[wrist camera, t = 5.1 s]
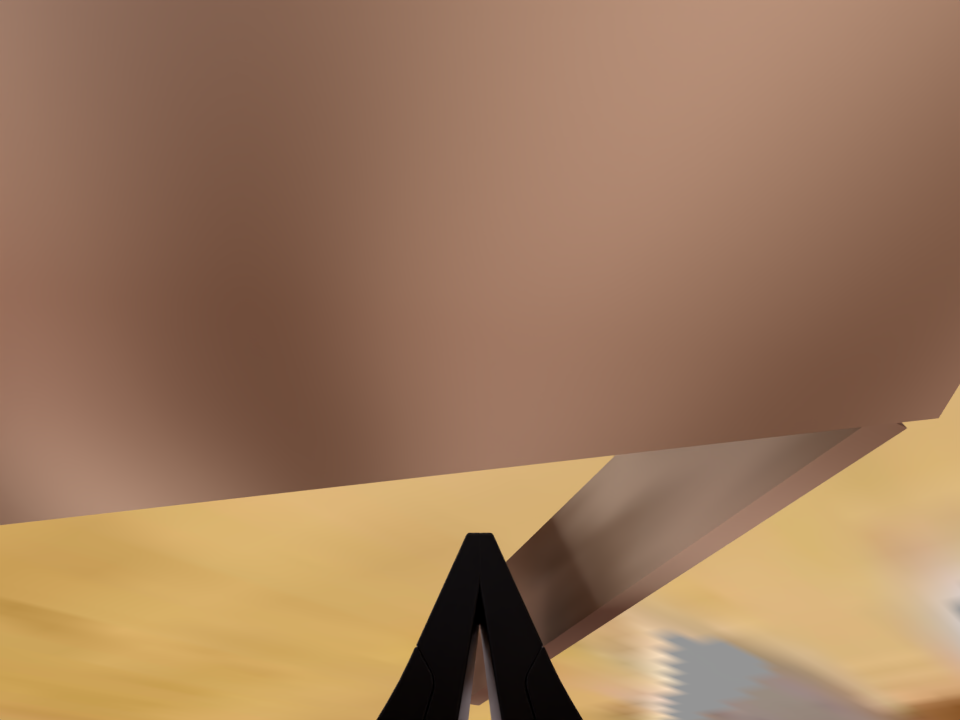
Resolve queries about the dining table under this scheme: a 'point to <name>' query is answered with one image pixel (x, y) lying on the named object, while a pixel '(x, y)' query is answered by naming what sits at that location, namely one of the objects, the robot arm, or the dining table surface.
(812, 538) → the dining table surface
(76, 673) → the dining table surface
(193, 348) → the brown piece
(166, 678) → the dining table surface
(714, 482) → the flap
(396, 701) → the robot arm
